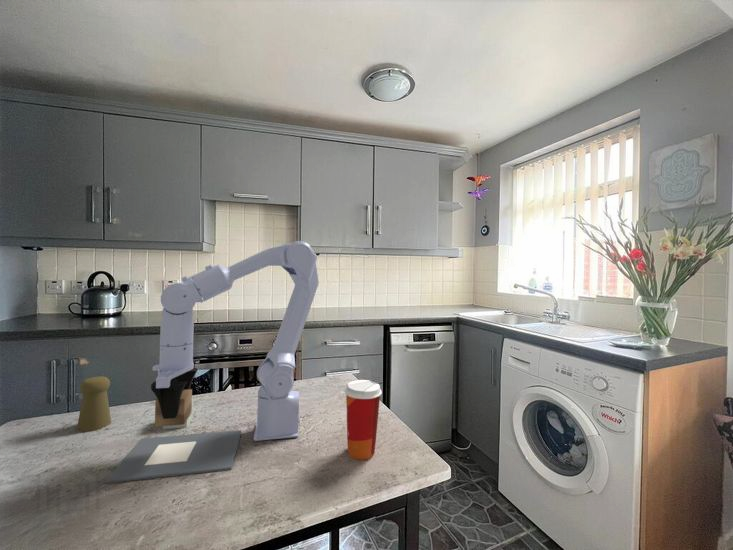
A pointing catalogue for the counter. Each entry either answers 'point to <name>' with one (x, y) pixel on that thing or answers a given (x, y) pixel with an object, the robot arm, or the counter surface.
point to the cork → (94, 404)
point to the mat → (178, 456)
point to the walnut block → (183, 411)
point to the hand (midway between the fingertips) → (175, 411)
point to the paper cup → (362, 417)
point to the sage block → (185, 422)
